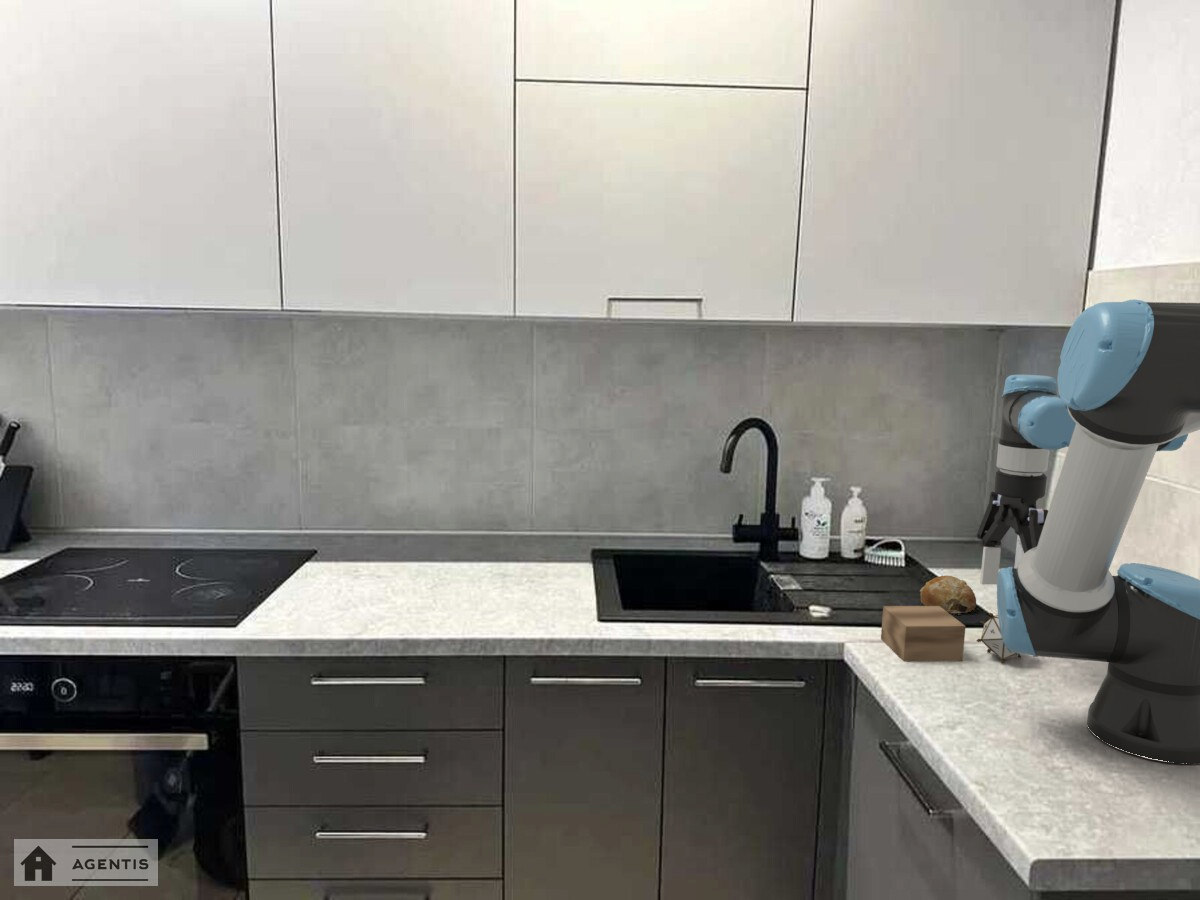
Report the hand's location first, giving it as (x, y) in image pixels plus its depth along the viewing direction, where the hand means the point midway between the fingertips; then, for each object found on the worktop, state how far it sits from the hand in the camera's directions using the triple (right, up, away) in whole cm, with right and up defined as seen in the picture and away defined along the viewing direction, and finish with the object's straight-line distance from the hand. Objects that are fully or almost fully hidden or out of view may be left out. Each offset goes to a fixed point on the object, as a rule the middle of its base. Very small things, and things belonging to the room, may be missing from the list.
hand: (1008, 597), depth 149 cm
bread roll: (0, -7, +27) cm, 28 cm away
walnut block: (-13, -10, +4) cm, 17 cm away
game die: (0, -11, +1) cm, 11 cm away
